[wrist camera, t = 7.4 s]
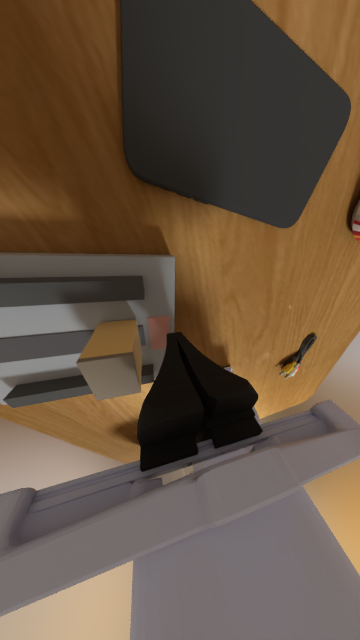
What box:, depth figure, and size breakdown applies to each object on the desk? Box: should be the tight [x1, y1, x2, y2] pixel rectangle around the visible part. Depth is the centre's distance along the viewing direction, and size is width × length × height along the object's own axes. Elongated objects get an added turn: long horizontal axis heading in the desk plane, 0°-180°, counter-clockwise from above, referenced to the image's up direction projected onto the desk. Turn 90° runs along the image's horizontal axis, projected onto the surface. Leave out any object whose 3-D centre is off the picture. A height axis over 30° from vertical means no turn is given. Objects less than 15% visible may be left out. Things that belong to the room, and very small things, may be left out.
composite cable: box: [279, 335, 317, 379], centre depth 25 cm, size 10×5×2 cm, turn 159°
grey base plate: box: [0, 252, 175, 405], centre depth 12 cm, size 18×14×2 cm
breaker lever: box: [76, 319, 142, 401], centre depth 10 cm, size 3×4×4 cm
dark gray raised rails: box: [0, 276, 154, 408], centre depth 11 cm, size 13×11×1 cm
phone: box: [120, 0, 351, 228], centre depth 9 cm, size 7×1×15 cm
